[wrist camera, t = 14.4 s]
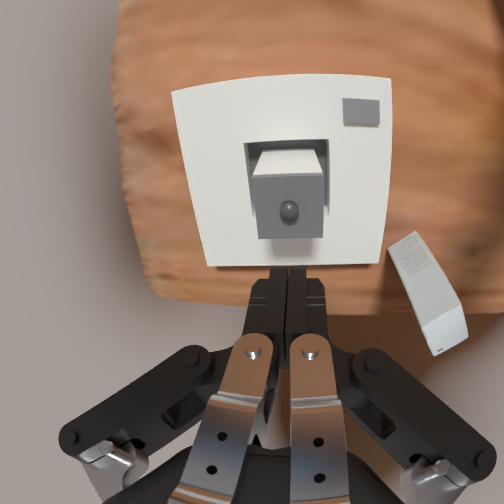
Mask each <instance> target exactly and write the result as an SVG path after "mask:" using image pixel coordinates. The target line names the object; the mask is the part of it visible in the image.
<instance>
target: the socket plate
mask: <svg viewBox="0 0 504 504" xmlns="http://www.w3.org/2000/svg"><path fill="white" fill-rule="evenodd" d="M171 94H172V100H173V106H174V112H175V118H176V123H177V129H178V134H179V140H180V145H181V150H182V155H183V160H184V165H185V170H186V175H187V180H188V184H189V189H190V194H191V198H192V203H193V207H194V211H195V216H196V220H197V224H198V229H199V233H200V237H201V241H202V245H203V249H204V253H205V257H206V261H207V265H208V266H271V265H326V264H367V263H378V262H379V257H380V251H381V245H382V239H383V233H384V226H385V218H386V210H387V202H388V192H389V181H390V168H391V149H392V91H391V79H389V78H380V77H371V76H359V75H341V74H293V75H275V76H262V77H252V78H244V79H236V80H229V81H222V82H216V83H210V84H205V85H199V86H194V87H190V88H185V89H181V90H176V91H172V92H171ZM291 148H314V151H315V153H316V156H317V159H318V161H319V164H320V167H321V169H322V172H323V175H324V219H323V238H294V239H258V232H257V223H256V214H255V205H254V197H253V188H252V180H251V178H252V175H253V173H254V170H255V168H256V166H257V163H258V161H259V158H260V156H261V154H262V151H263V150H270V149H291Z"/></svg>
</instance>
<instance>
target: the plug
mask: <svg viewBox="0 0 504 504" xmlns="http://www.w3.org/2000/svg"><path fill="white" fill-rule="evenodd" d="M251 180H252V188H253V197H254V205H255V214H256V223H257V232H258V239H294V238H323V219H324V175H323V172H322V169H321V167H320V164H319V161H318V159H317V156H316V153H315V151H314V148H291V149H270V150H263V151H262V154H261V156H260V158H259V161H258V163H257V166H256V168H255V170H254V173H253V175H252V178H251Z"/></svg>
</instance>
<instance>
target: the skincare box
mask: <svg viewBox="0 0 504 504" xmlns="http://www.w3.org/2000/svg"><path fill="white" fill-rule="evenodd" d="M387 250H388V252H389V254H390V256H391V259H392V261H393V263H394V265H395V267H396V269H397V271H398V274H399V276H400V278H401V280H402V283H403V285H404V287H405V290H406V292H407V295H408V297H409V300H410V302H411V305H412V307H413V309H414V312H415V314H416V317H417V320H418V322H419V325H420V327H421V330H422V332H423V334H424V336H425V339H426V341H427V344H428V346H429V348H430V350H431V352H432V354H433V356H436V355H438V354H440V353H442V352H444V351H446V350H447V349H449V348H451V347H453V346H455V345H456V344H458V343H460V342H462V341H463V340H465V339H466V338H468V331H467V325H466V321H465V318H464V313H463V309H462V305H461V302H460V301H459V299H458V297H457V295H456V293H455V291H454V289H453V288H452V286H451V284H450V282H449V281H448V279H447V277H446V276H445V274H444V272H443V271H442V269H441V267H440V266H439V264H438V262H437V261H436V259H435V258H434V256H433V255H432V253H431V251H430V250H429V248H428V247H427V245H426V244H425V242H424V241H423V240H422V238H421V237H420V235H419V234H418V232H417V231H413V232H412V233H410V234H409V235H407V236H406V237H404V238H403V239H401V240H400V241H398V242H396V243H395V244H393V245H391V246H390V247H388V248H387Z"/></svg>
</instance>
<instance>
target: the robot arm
mask: <svg viewBox="0 0 504 504" xmlns="http://www.w3.org/2000/svg"><path fill="white" fill-rule="evenodd" d="M285 360H286V366H287V367H286V368H287V369H290V408H291V441H290V442H291V443H290V447H286V448H281V449H275V450H269V449H266V444H267V438H268V427H269V422H270V417H271V412H272V408H273V403H274V398H275V392H276V388H277V381H278V373H279V369H285ZM342 408H343V409H344V410H345V411H346V412H347V413H348V414H349V415H350V416H351V417H352V418H353V419H354V420H355V421H356V422H357V423H358V424H359V426H360V427H361V428H363V430H365V432H366V433H367V434H368V435H370V437H371V438H372V439H374V440H375V441H376V442H377V443H378V444H379V445H380V446H381V447H382V448H383V449H384V450H385V451H386V452H387V453H388V454H389V455H390V456H391V457H392V458H393V459H394V460H395V461H396V462H397V463H398V464H399V465H400V466H401V467H403V468H404V470H403V472H402V473H401V476H400V487H401V489H402V490H403V492H404V493H405V496H406V504H453V503H454V502H455V500H456V499H457V498H458V497H459V496H460V494H461V493H462V492H463V491H464V489H465V488H466V487H467V486H468V485H471V484H474V483H476V482H479V481H481V480H483V479H485V478H486V477H487V476H489V474H490V473H491V472H492V471H493V469H494V467H495V464H496V458H497V455H496V450H495V448H494V446H493V445H492V444H491V443H490V442H488V441H487V440H486V439H485V438H484V437H483V436H481V435H480V434H479V433H478V432H477V431H476V430H475V429H474V428H472V427H471V426H470V425H469V424H468V423H467V422H465V421H464V420H463V419H462V418H461V417H460V416H459V415H457V414H456V413H455V412H454V411H453V410H451V408H449V407H448V406H447V405H446V404H445V403H444V402H442V401H441V400H440V399H439V398H438V397H437V396H435V395H434V394H433V393H432V392H431V391H430V390H428V389H427V388H426V387H425V386H424V385H423V384H421V383H420V382H419V381H418V380H417V379H416V378H414V377H413V376H412V375H411V374H410V373H409V372H407V371H406V370H405V369H404V368H403V367H401V366H400V365H399V364H398V363H397V362H395V361H394V360H393V359H392V358H391V357H390V356H388V355H387V354H386V353H385V352H383V351H381V350H379V349H373V348H370V349H365V350H362V351H361V352H359V353H358V354H353V353H349V352H345V351H342V350H340V349H338V348H337V347H335V346H334V345H333V344H332V343H331V341H330V340H329V337H328V328H327V314H326V301H325V290H324V286H323V284H322V283H321V281H320V280H319V278H306V266H299V267H289V277H288V267H271V268H270V276H269V279H258V280H257V282H256V283H255V284H254V285H253V287H252V290H251V295H250V300H249V306H248V309H247V314H246V319H245V324H244V329H243V333H242V336H241V337H240V338H239V339H238V340H237V341H236V342H235V344H234V345H233V346H232V347H230V348H227V349H224V350H220V351H215V352H208V351H207V349H205V348H204V347H202V346H199V345H189V346H186V347H184V348H182V349H181V350H179V351H178V352H176V353H175V354H173V355H172V356H170V357H169V358H167V359H166V360H165V361H163V362H162V363H160V364H159V365H157V366H156V367H154V368H153V369H151V370H150V371H148V372H147V373H145V374H144V375H142V376H141V377H139V378H138V379H136V380H135V381H133V382H132V383H130V384H129V385H127V386H126V387H124V388H123V389H121V390H120V391H118V392H117V393H115V394H113V395H112V396H110V397H109V398H107V399H106V400H104V401H103V402H101V403H100V404H98V405H96V406H95V407H93V408H91V409H90V410H88V411H87V412H85V413H83V414H82V415H80V416H79V417H77V418H76V419H74V420H72V421H71V422H69V423H67V424H66V425H64V427H62V429H61V431H60V433H59V445H60V447H61V449H62V450H63V452H64V453H66V454H67V455H69V456H71V457H73V458H75V459H77V460H78V461H80V462H81V463H82V465H83V467H84V469H85V471H86V473H87V475H88V477H89V479H90V481H91V482H92V484H93V486H94V487H95V489H96V491H97V493H98V495H99V496H100V498H101V500H102V501H103V503H102V504H404V503H403V502H402V501H401V500H400V499H399V498H398V496H396V495H395V493H394V492H393V491H392V490H391V489H390V488H389V487H388V486H387V485H386V484H385V483H384V482H383V481H382V480H381V479H380V478H379V477H378V476H377V474H376V473H375V472H374V471H373V470H372V469H371V468H370V467H369V466H368V465H367V464H366V463H365V462H364V461H363V460H362V459H361V458H359V457H357V456H356V455H354V454H352V453H350V452H348V451H347V450H346V438H345V428H344V418H343V409H342ZM200 420H201V423H200V426H199V429H198V432H197V434H196V437H195V440H194V443H193V445H192V446H190V447H187V448H185V449H183V450H182V451H180V452H179V453H177V454H176V455H174V456H173V457H172V458H171V459H169V460H168V461H166V462H165V463H163V464H162V465H160V466H159V467H158V468H156V469H155V470H153V471H152V472H151V473H149V474H147V475H146V476H144V477H143V478H141V479H139V477H140V476H141V475H143V474H144V473H145V472H146V471H147V469H148V466H149V459H148V456H150V455H151V454H153V453H155V452H156V451H158V450H159V449H161V448H162V447H164V446H165V445H167V444H168V443H170V442H171V441H172V440H174V439H175V438H177V437H178V436H179V435H181V434H183V433H184V432H185V431H187V430H188V429H189V428H191V427H192V426H194V425H195V424H196V423H198V422H199V421H200ZM138 479H139V480H138Z"/></svg>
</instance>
